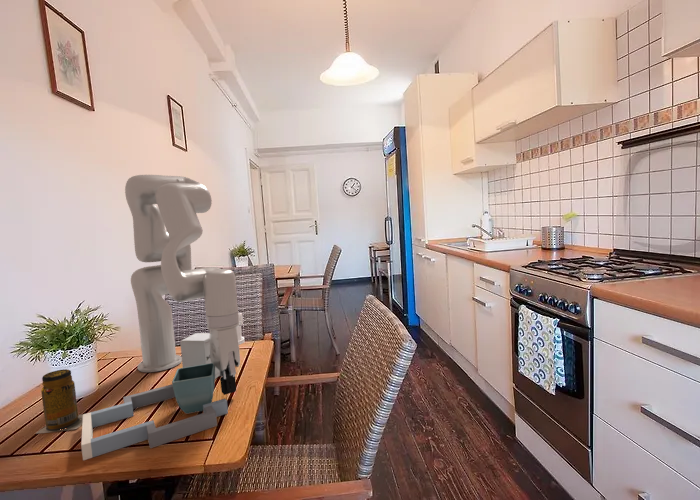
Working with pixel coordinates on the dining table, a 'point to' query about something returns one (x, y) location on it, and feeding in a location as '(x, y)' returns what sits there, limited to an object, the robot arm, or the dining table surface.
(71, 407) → the condiment
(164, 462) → the dining table surface
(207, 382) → the flower pot
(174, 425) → the stepped grey frame
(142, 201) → the robot arm
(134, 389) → the dining table surface
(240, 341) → the white plastic fitting
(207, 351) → the supplement box
